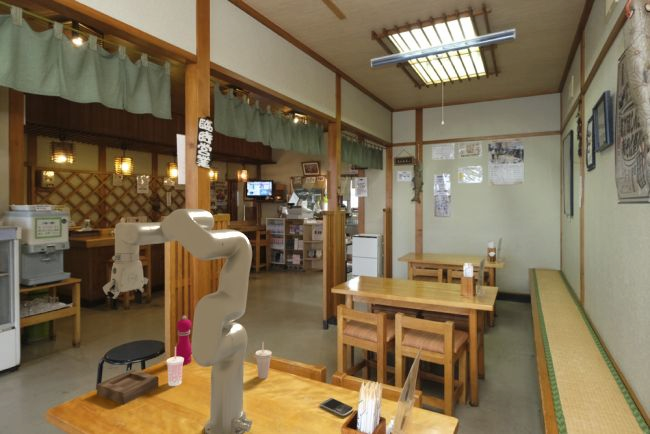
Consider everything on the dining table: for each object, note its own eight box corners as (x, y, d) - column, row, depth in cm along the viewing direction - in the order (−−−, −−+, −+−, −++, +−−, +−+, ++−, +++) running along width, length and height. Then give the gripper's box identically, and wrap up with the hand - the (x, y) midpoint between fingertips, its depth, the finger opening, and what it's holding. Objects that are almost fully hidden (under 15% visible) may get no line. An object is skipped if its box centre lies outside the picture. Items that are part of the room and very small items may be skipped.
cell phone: (343, 420, 122) (343, 415, 122) (318, 407, 129) (318, 403, 129) (355, 412, 127) (355, 408, 126) (329, 400, 134) (329, 396, 134)
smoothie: (251, 379, 148) (252, 343, 148) (259, 372, 154) (260, 338, 154) (266, 381, 146) (267, 345, 146) (273, 374, 152) (274, 340, 152)
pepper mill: (175, 359, 165) (175, 313, 165) (192, 357, 167) (193, 312, 167) (173, 366, 158) (174, 318, 158) (192, 364, 161) (192, 317, 160)
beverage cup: (187, 380, 146) (187, 344, 145) (177, 388, 140) (177, 350, 139) (173, 378, 147) (173, 342, 147) (162, 385, 141) (163, 348, 141)
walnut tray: (158, 388, 140) (158, 376, 140) (124, 405, 127) (124, 393, 127) (132, 380, 146) (132, 369, 146) (96, 396, 133) (96, 384, 133)
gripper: (111, 261, 124) (111, 313, 124) (155, 255, 140) (154, 302, 140) (96, 259, 127) (95, 310, 127) (140, 254, 143) (139, 299, 143)
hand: (126, 306), depth 134 cm, fingers open, 9 cm apart
